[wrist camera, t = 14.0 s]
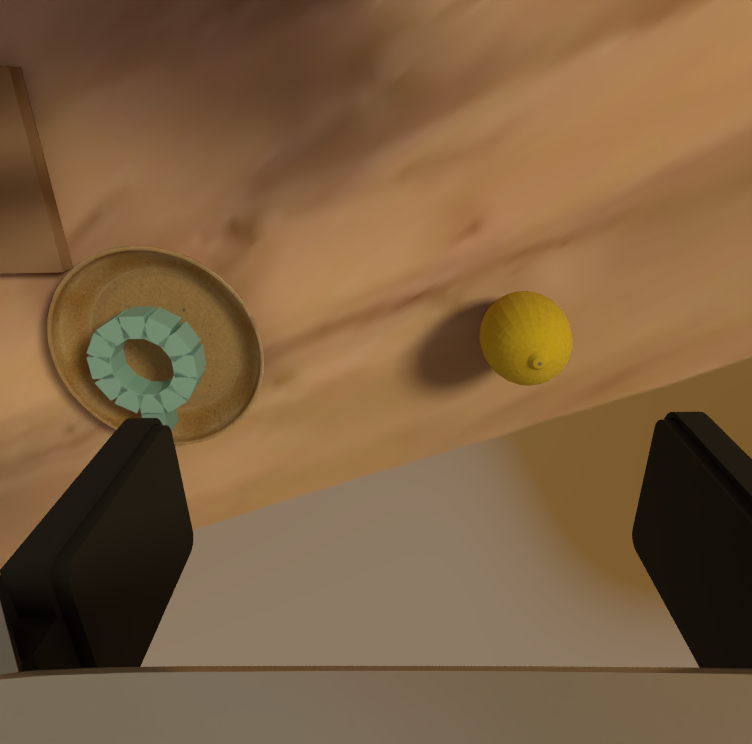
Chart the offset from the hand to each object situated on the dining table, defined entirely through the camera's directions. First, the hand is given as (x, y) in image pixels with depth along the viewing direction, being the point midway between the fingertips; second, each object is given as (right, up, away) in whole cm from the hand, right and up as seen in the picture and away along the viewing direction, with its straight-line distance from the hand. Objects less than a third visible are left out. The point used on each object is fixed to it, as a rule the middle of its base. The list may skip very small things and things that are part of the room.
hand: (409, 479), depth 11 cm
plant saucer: (-16, +5, +30) cm, 34 cm away
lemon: (+9, +6, +28) cm, 30 cm away
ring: (-16, +3, +28) cm, 32 cm away
